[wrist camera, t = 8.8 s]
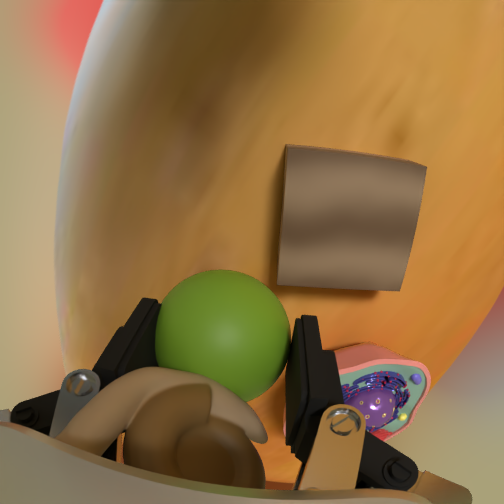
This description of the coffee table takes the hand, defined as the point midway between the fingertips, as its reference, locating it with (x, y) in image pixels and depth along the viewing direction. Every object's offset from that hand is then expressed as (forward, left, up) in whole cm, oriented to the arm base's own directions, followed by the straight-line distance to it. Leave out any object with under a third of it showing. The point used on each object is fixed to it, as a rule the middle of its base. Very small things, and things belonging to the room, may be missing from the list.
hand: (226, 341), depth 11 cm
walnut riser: (0, +8, -19) cm, 21 cm away
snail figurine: (0, -1, -3) cm, 3 cm away
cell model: (+21, +13, -20) cm, 31 cm away
